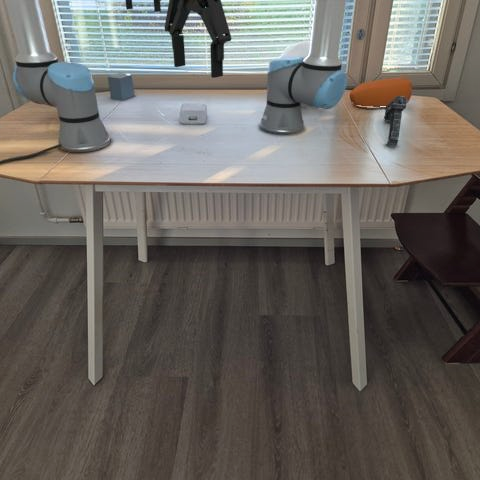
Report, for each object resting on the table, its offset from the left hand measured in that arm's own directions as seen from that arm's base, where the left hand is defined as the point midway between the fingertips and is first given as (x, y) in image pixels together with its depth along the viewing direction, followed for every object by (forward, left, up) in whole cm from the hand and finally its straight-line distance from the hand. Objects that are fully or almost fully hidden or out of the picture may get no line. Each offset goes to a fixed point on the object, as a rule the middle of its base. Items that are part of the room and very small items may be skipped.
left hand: (143, 10), depth 151 cm
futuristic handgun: (+13, -95, -33) cm, 101 cm away
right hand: (-51, -60, -5) cm, 79 cm away
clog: (+43, -82, -33) cm, 99 cm away
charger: (-9, -27, -33) cm, 44 cm away
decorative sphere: (+27, -55, -33) cm, 70 cm away
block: (-3, +14, -33) cm, 36 cm away
